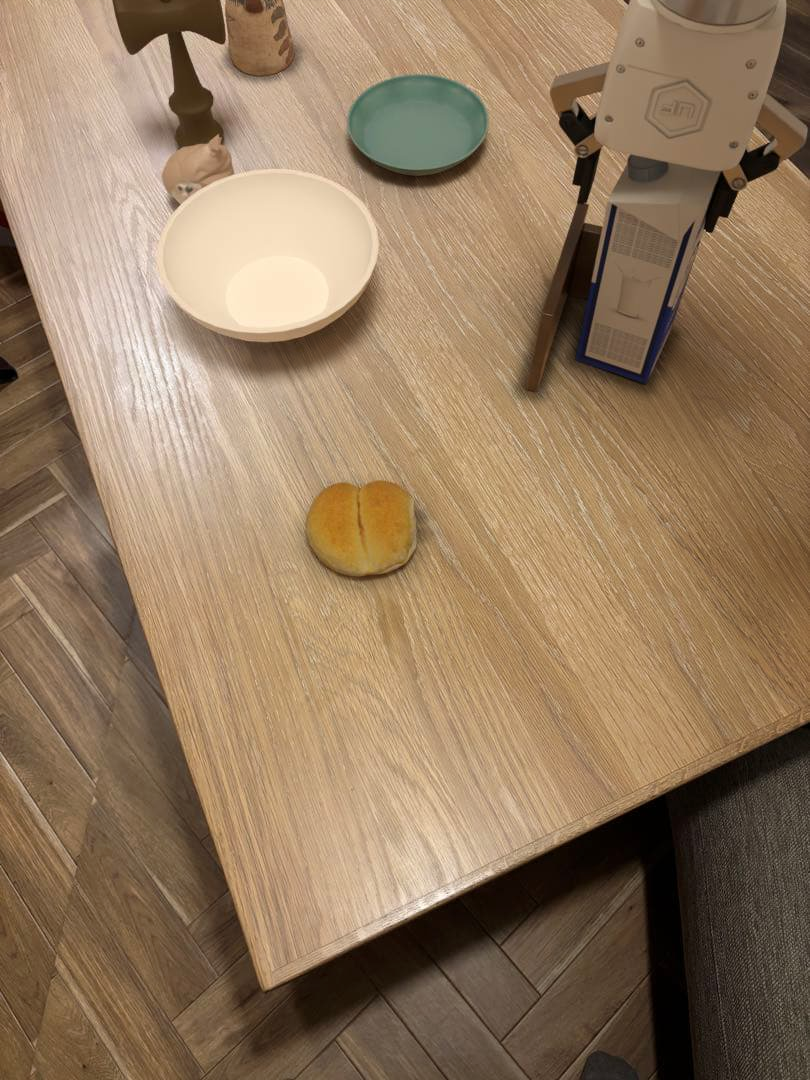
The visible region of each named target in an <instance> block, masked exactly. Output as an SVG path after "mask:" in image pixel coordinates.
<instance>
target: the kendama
mask: <svg viewBox="0 0 810 1080" xmlns="http://www.w3.org/2000/svg"><path fill="white" fill-rule="evenodd" d="M111 1H112V7H113V12H114V16H115V17H114V18H115V20H116V24H117V28H118V31H119V34H120V38H121V40H122V43H123V45H124V47H125V50H126V51H127V53H128V54H129V55H131V56H134V55H137V54H138V53H139V52H140V51H142V50H143V49H144V48H145V47H146V46H148V44H150V43H151V42H153V41H154V40H155V39H156V38H158V37H161V36H164V35H167V42H168V46H169V47H168V48H169V53H170V61H171V70H172V78H173V92H172V93H171V95H170V96H169V98H168V107H169V109H170V111H171V112H172V113H173V114H175V115H176V116H177V119H178V123H179V124H178V126H177V127H176V129H175V135H174V140H175V141H176V144H177V146H178V147H179V149H181V148H182V147H188V146H194V145H197V144H208V143H209V141H210V140H212V139H213V138H214V137H215V136H217V135H218V134H219V137H222V138H221V142H220V144H221V145H222V143H223V140H224V137H225V136H224V135H225V131H224V128H223V126H222V124H221V123H220V121H218V120H217V119H215V118H214V116H213V112H212V108H213V106H214V100H215V97H214V95H213V94H212V93H213V92H212V91H211V90H210V89H208V88H206V87H204V86H203V85H202V83H201V81H200V78H199V76H198V74H197V72H196V69H195V67H194V64H193V61H192V58H191V56H190V53H189V51H188V47H187V44H186V42H185V39H184V35H183V33H185V32H190V33H194V34H197V35H199V36H201V37H203V38H206V39H208V40H210V41H211V42H213V43H216V44H218V45H225V44H226V40H227V37H226V36H227V32H226V31H227V30H226V22H225V18H224V12H223V8H222V7H223V6H222V2H221V0H111Z"/></svg>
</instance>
